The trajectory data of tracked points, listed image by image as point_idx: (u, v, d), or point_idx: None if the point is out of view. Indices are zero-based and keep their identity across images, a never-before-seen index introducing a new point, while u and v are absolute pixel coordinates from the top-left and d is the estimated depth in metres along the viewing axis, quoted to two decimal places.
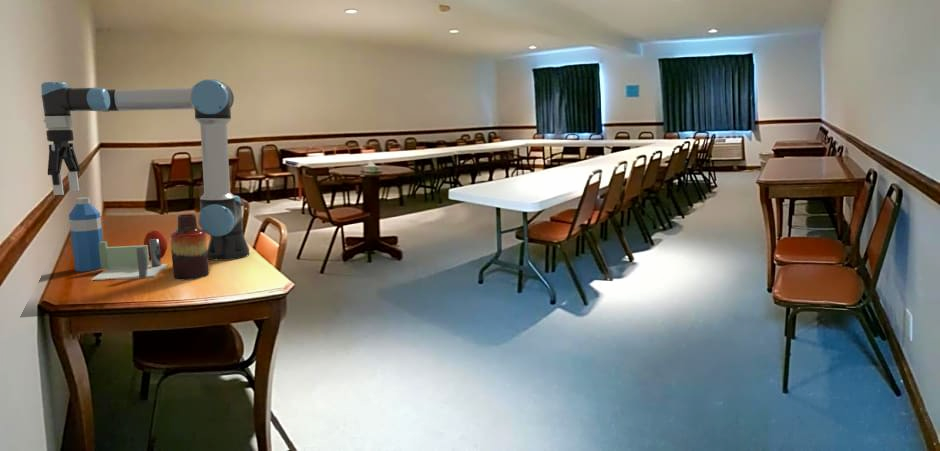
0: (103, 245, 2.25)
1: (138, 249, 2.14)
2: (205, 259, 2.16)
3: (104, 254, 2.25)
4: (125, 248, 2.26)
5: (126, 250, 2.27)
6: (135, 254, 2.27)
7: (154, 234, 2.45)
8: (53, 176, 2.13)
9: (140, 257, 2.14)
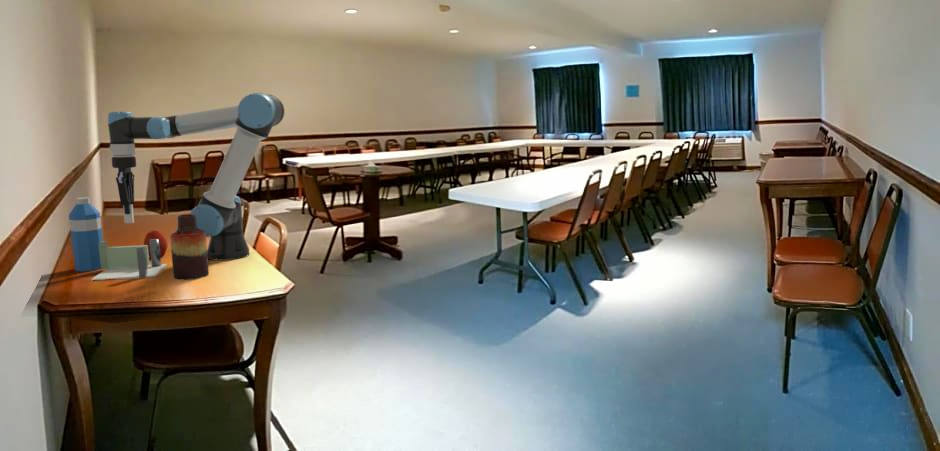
0: (103, 245, 2.25)
1: (138, 249, 2.14)
2: (205, 259, 2.16)
3: (104, 254, 2.25)
4: (125, 248, 2.26)
5: (126, 250, 2.27)
6: (135, 254, 2.27)
7: (154, 234, 2.45)
8: (125, 206, 2.30)
9: (140, 257, 2.14)
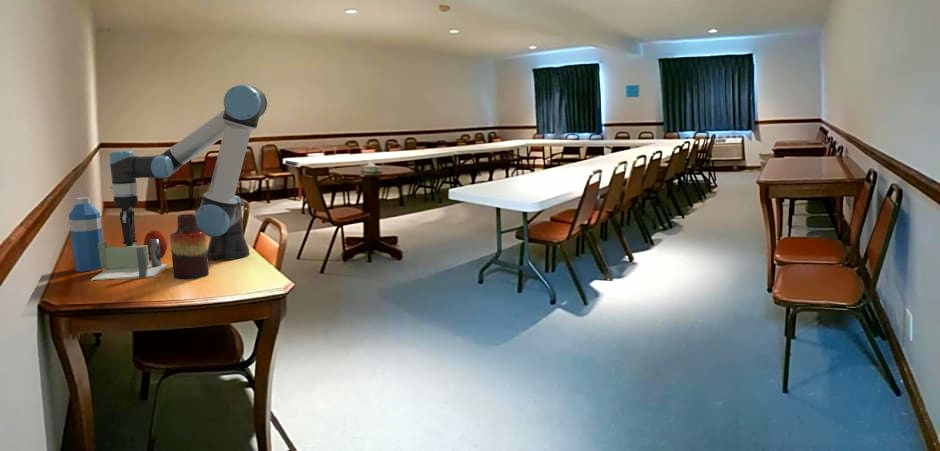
0: (103, 245, 2.24)
1: (138, 249, 2.14)
2: (205, 259, 2.16)
3: (104, 254, 2.25)
4: (125, 248, 2.26)
5: (126, 250, 2.26)
6: (135, 254, 2.27)
7: (154, 234, 2.45)
8: (128, 245, 2.29)
9: (140, 257, 2.14)
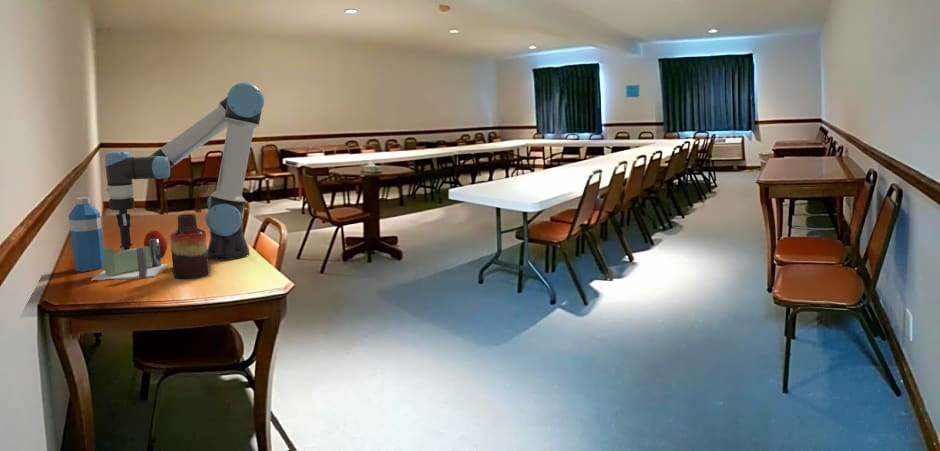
0: (111, 250, 2.15)
1: (138, 249, 2.14)
2: (205, 259, 2.16)
3: (112, 260, 2.15)
4: (131, 251, 2.21)
5: (132, 253, 2.21)
6: None
7: (154, 234, 2.45)
8: (125, 248, 2.23)
9: (140, 257, 2.14)
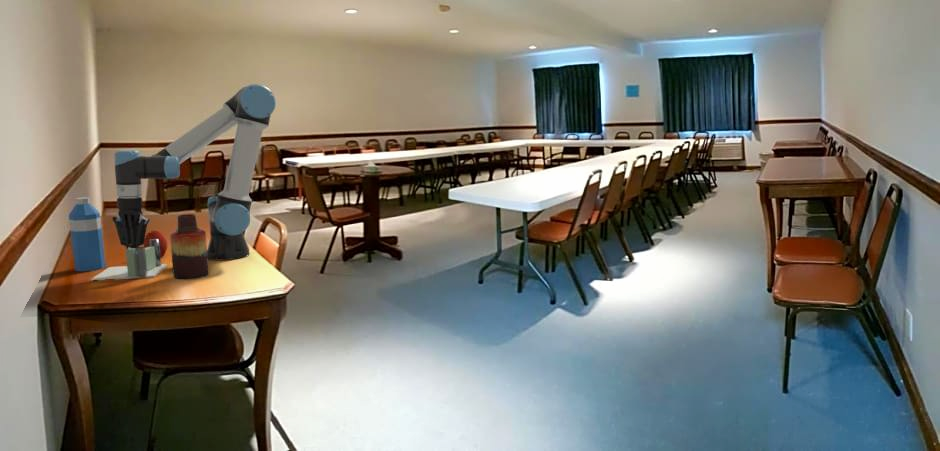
0: (135, 251, 2.13)
1: (138, 249, 2.14)
2: (205, 259, 2.16)
3: (136, 261, 2.14)
4: (145, 251, 2.20)
5: (145, 253, 2.21)
6: (150, 256, 2.23)
7: (154, 234, 2.45)
8: None
9: (140, 257, 2.14)
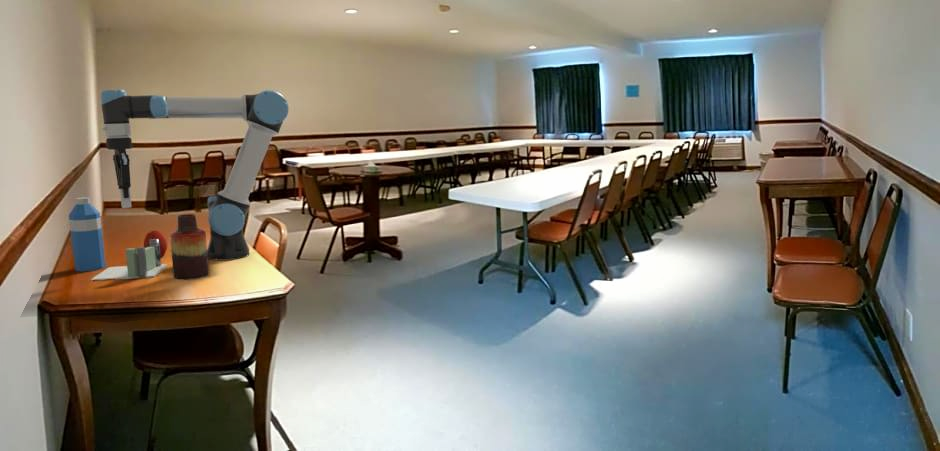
0: (135, 251, 2.13)
1: (138, 249, 2.14)
2: (205, 259, 2.16)
3: (136, 261, 2.14)
4: (145, 251, 2.20)
5: (145, 253, 2.21)
6: (150, 256, 2.23)
7: (154, 234, 2.45)
8: (124, 189, 2.18)
9: (140, 257, 2.14)
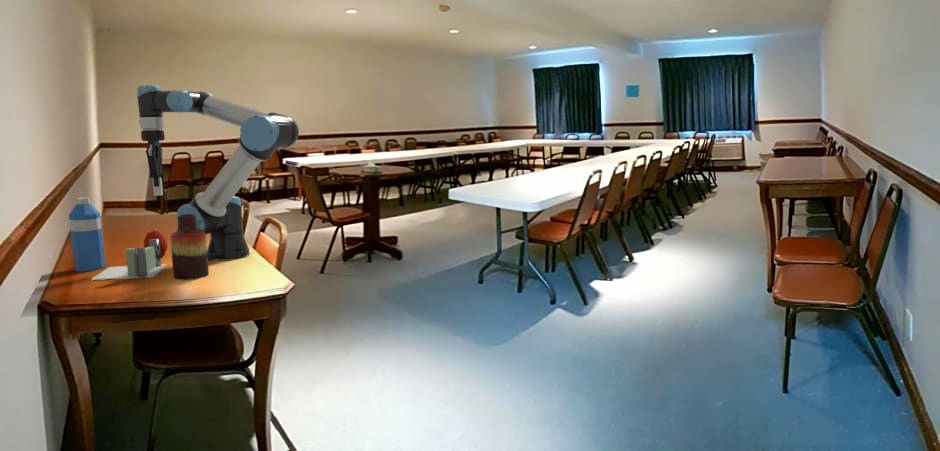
0: (135, 251, 2.13)
1: (138, 249, 2.14)
2: (205, 259, 2.16)
3: (136, 261, 2.14)
4: (145, 251, 2.20)
5: (145, 253, 2.21)
6: (150, 256, 2.23)
7: (154, 234, 2.45)
8: (154, 178, 2.34)
9: (140, 257, 2.14)
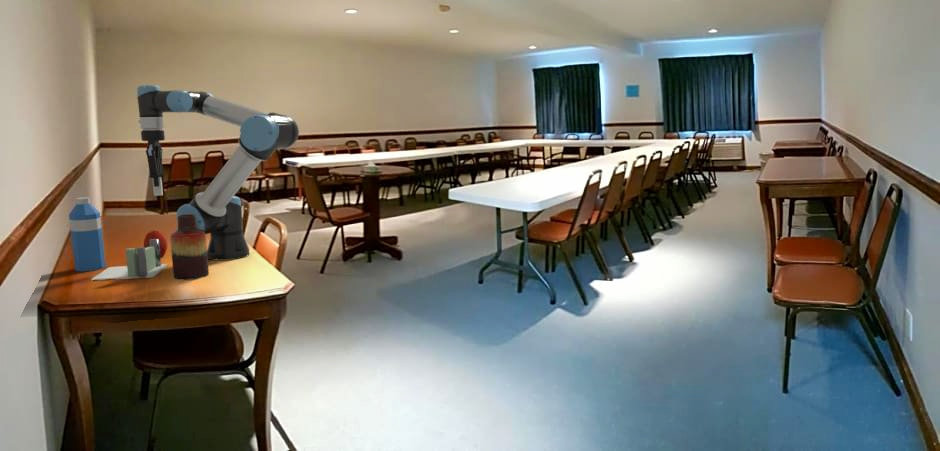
0: (135, 251, 2.13)
1: (138, 249, 2.14)
2: (205, 259, 2.16)
3: (136, 261, 2.14)
4: (145, 251, 2.20)
5: (145, 253, 2.21)
6: (150, 256, 2.23)
7: (154, 234, 2.45)
8: (154, 178, 2.34)
9: (140, 257, 2.14)
